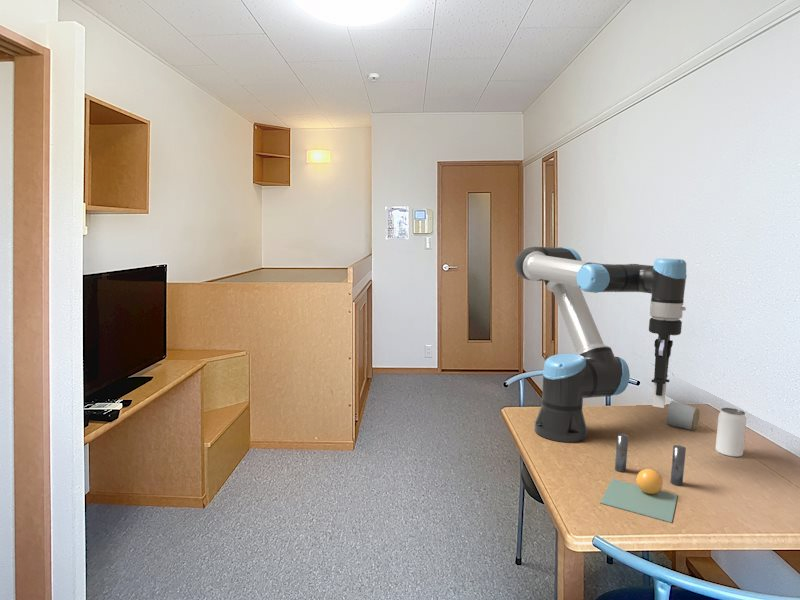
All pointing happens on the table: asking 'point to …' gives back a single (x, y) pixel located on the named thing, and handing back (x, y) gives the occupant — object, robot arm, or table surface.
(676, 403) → the grey lying cylinder
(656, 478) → the ball
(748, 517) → the table surface
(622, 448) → the post left
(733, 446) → the can
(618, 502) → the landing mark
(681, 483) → the post right
